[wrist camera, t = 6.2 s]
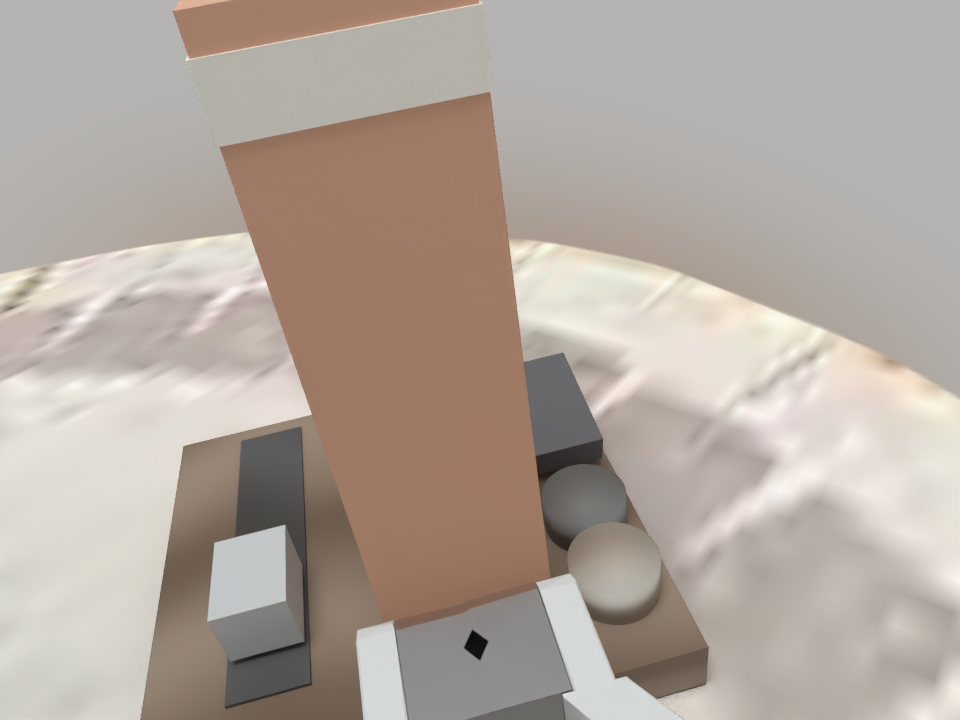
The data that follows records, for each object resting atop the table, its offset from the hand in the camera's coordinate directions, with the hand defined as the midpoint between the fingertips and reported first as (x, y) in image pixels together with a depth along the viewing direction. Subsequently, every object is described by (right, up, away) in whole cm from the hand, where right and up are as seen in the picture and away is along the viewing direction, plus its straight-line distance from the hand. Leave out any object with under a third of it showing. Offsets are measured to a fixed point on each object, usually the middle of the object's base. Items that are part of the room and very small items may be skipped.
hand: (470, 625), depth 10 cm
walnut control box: (-2, -2, +12) cm, 12 cm away
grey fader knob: (-5, -3, +9) cm, 11 cm away
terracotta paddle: (0, -2, +8) cm, 9 cm away
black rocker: (+2, +2, +12) cm, 13 cm away
